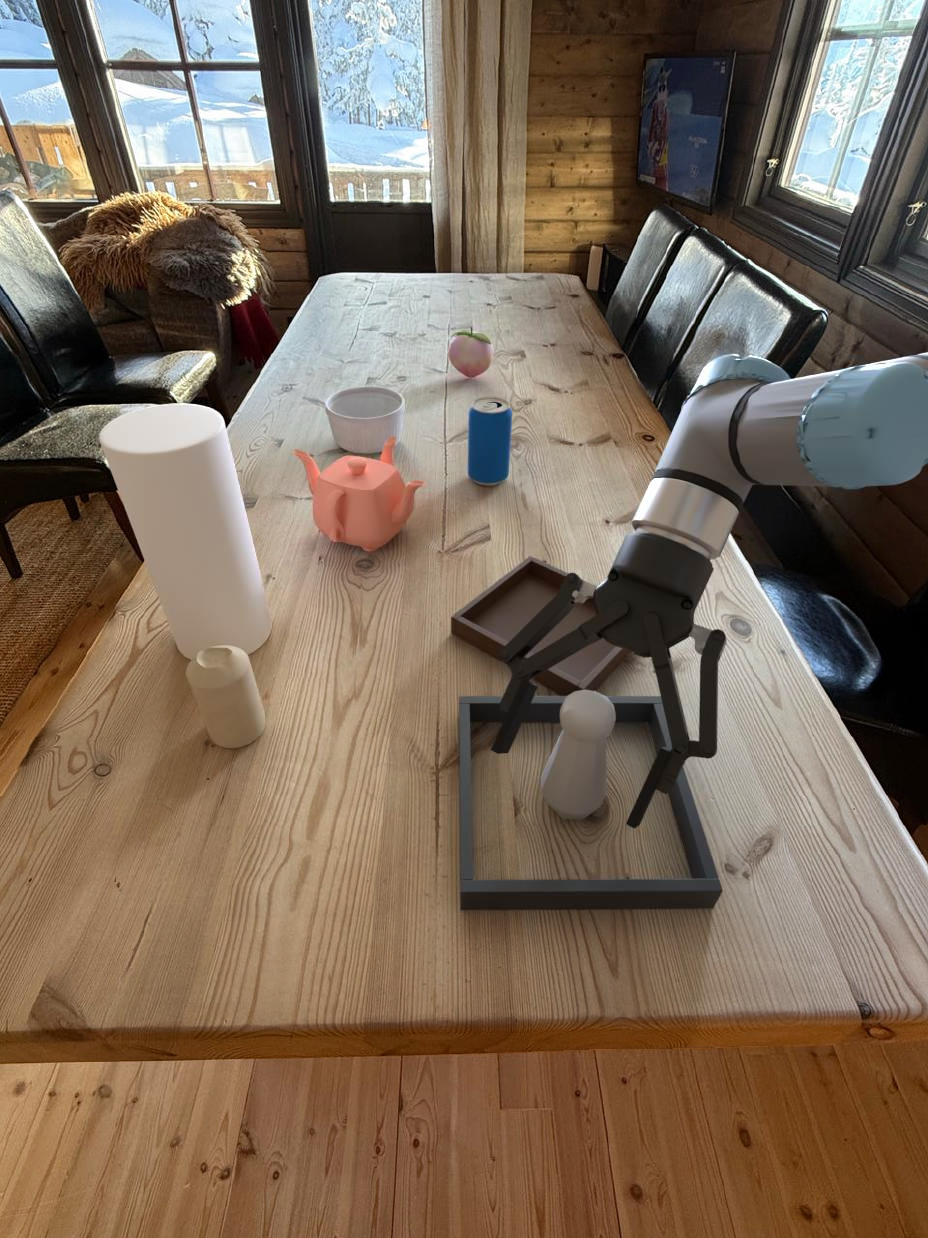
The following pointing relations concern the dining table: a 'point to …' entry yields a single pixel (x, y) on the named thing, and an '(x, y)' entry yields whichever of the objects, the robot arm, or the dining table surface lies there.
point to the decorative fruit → (470, 352)
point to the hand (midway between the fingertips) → (562, 786)
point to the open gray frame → (586, 891)
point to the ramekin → (365, 418)
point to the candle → (227, 695)
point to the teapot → (360, 498)
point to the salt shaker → (579, 756)
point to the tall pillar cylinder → (190, 524)
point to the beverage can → (489, 440)
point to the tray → (516, 605)
